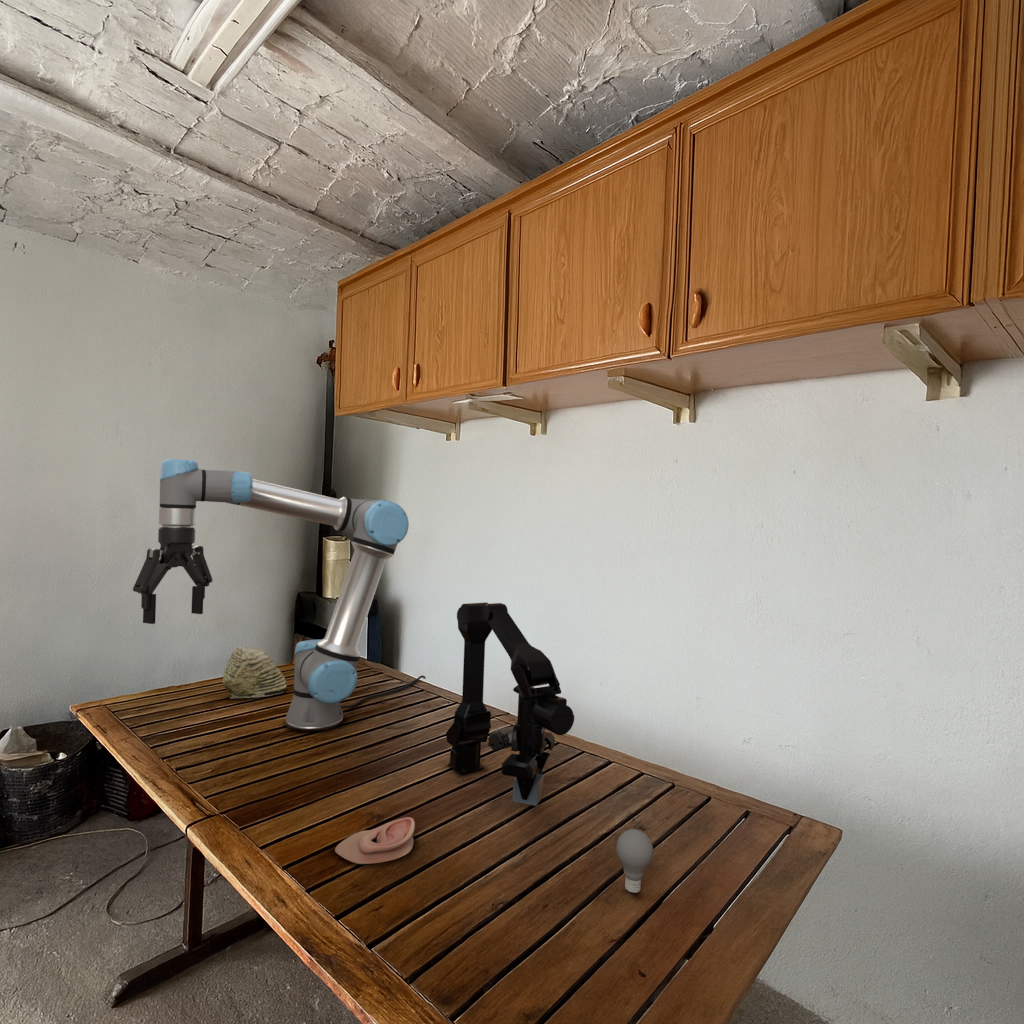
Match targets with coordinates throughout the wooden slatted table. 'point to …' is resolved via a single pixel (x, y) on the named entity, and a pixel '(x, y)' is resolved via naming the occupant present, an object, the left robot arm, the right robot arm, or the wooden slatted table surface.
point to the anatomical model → (379, 843)
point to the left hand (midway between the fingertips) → (174, 618)
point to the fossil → (252, 674)
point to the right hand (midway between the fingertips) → (527, 794)
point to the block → (534, 794)
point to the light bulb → (634, 857)
